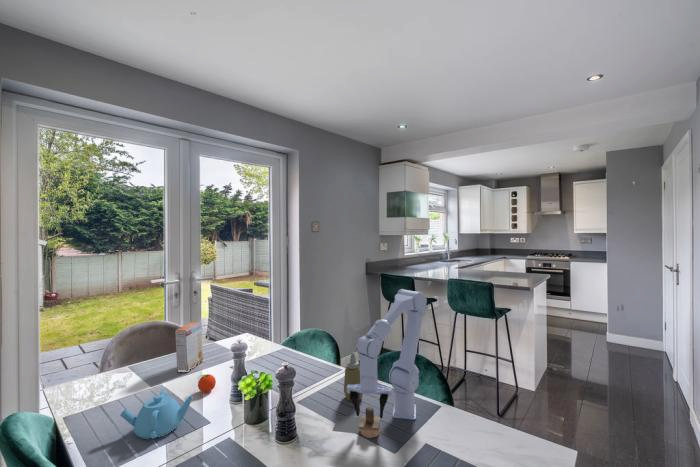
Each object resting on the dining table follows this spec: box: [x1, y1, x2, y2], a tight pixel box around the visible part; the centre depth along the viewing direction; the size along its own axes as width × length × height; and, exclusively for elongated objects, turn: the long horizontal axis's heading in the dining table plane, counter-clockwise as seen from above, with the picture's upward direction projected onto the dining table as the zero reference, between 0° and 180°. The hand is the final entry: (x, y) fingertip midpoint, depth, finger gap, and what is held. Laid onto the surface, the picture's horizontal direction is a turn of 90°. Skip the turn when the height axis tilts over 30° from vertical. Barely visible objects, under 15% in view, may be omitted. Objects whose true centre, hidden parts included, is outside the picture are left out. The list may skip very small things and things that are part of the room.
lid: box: [359, 406, 381, 432], centre depth 107 cm, size 6×6×5 cm
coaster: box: [331, 415, 361, 434], centre depth 112 cm, size 9×9×1 cm
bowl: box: [359, 427, 381, 439], centre depth 108 cm, size 6×6×3 cm
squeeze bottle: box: [343, 352, 364, 402], centre depth 129 cm, size 8×8×18 cm
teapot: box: [119, 390, 194, 440], centre depth 113 cm, size 15×17×11 cm
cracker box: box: [174, 321, 204, 371], centre depth 164 cm, size 14×6×21 cm, turn 175°
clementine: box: [197, 374, 217, 393], centre depth 139 cm, size 8×7×7 cm
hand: (369, 415), depth 107 cm, fingers open, 7 cm apart
